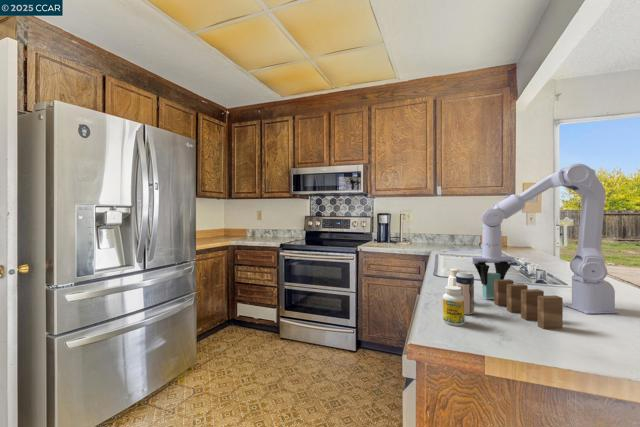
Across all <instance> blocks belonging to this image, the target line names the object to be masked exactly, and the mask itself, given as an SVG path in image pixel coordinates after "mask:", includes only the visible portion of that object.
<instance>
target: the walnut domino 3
mask: <svg viewBox="0 0 640 427" xmlns="http://www.w3.org/2000/svg"><path fill="white" fill-rule="evenodd" d="M544 293H545V291H544V290H541V289H540V288H536V289H533V288H532V289H530V288H529V289H528V290H521V313H520V318H521V319H523V320H525V321H538V296H545V294H544Z"/></svg>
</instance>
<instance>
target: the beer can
mask: <svg viewBox="0 0 640 427" xmlns="http://www.w3.org/2000/svg"><path fill="white" fill-rule="evenodd" d="M456 286H457V287H460V288H461V294H460V295H462V296H463V297H464V316H465V315H466V316H470V315H472V314H475V276H474V274H473V273H472V272H471V271H470V272H469V271H462V270H461V271H460V270H459V272H457V274H456Z"/></svg>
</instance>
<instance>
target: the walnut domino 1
mask: <svg viewBox="0 0 640 427" xmlns="http://www.w3.org/2000/svg"><path fill="white" fill-rule="evenodd" d="M507 284H514V280H512V279H510V278H509V279H505V278H504V279H500V280H494V298H493V303H494V305H495V306H497V307H507Z"/></svg>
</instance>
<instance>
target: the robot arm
mask: <svg viewBox="0 0 640 427" xmlns="http://www.w3.org/2000/svg"><path fill="white" fill-rule="evenodd" d="M557 187H564V188H565V189H568V190H572V191H574V193H576V194H578V195H579V196H580V197H581V206H580V208H581V209H580V216H579V227H578V238H577V239H578V240H577V241H578V242H577V248H576V250H575V251H574V255H573V258H572V259H571V260H570V262H569V268H570V270H571V272H573V275H572V276H571V303H564V304H563V305H564V306H566V307H568V308H570V309H573V310H575V311H579V312H582V313H584V314H587V315H590V314H594V315H596V314H599V315H600V314H618V313H619V312H618V310H616V306H615V305H616V304H615V303H616V302H615V301H616V298H615V297H616V291H615V287H614V286H613V285H612V284H611V283H610V281H607V280H605V278H606V277H607V275H608V268H607V267H606V265H605V258H604V257H605V256H604V255H603V252H602V250H601V247H602V238H603V236H602V235H603V228H604V227H603V224H604V216H605V204H606V203H605V202H606V188H605V186H604V185H603V184H602V182H601V180H600V179H599V178H598V177H597V173H596V170H594V169H593V168H591V167H589V166H588V165H586V164H583V163H574V164H571V165H569V166H566V167H563V168H561V169H560V170H558V171H556V172H553V173H551V174H549V175H547V176H545V177H543V178H542V179H540V180H539V181H537V182H536V183H534V184H533V185H532V186H530V187H529V188H527V189H526V190H525V189H524V191H523V192H521V193H520V194H510V195H509V194H507V195H505V196H504V199H503V200H501V201H499V202H498V203H496V204H495V205H494V204H492V205H490V207H491V208H488V209H487V210H485V211H483V213H482V215H481V217H480V218H481V221H482V227H481V228H482V231H481V237H482V238H481V240H482V243H481V244H482V245H481V250H482V251H481V252H482V254H481V255H479V256H470V257H469V263H470V264H472V265H473V266H474V267H475V269H476V271H477V273H478V275H479V279H480V283H481V285H483V284H484V285H487V275H488V273H489V269H490V265H489V264H493V265H494V268H495V273H498V274H501V278H500V279H505V277H506V274H507V272H508V270H510V268H511V263H512V264H515V256H505V255H503V254H502V253H503V252H502V249H503V246H502V245H503V244H502V237H503V236H502V232H503V231H502V225H501V224H502V223H503V221H504V219H505V220H507V219H508V218H511V217H512V216H513V215H516V214H517V213H519V212H520V211H522V210H524V209H525V207H526V203H527V202H528V201H530V200H532V199H534V198H535V197H537V196H539V195H540V194H542V193H544V192H546V191H547V190H549V189H551V188H552V189H553V188H557Z"/></svg>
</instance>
